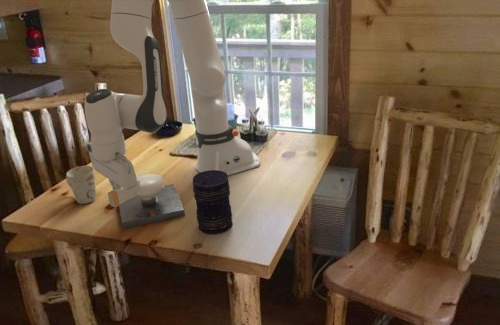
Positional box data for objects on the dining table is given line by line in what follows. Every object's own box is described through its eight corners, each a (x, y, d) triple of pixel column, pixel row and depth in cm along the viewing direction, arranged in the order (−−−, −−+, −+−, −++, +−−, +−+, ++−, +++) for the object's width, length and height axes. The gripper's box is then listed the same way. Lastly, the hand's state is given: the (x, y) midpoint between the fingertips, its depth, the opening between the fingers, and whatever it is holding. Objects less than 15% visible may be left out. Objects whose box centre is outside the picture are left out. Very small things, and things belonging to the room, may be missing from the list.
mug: (85, 208, 155) (78, 179, 151) (58, 199, 161) (51, 171, 157) (105, 196, 161) (99, 168, 157) (79, 188, 168) (72, 161, 164)
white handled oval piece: (148, 180, 156) (145, 165, 154) (171, 187, 151) (168, 172, 149) (102, 205, 143) (98, 189, 141) (125, 214, 138) (122, 198, 136)
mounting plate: (174, 189, 163) (172, 173, 160) (185, 215, 147) (182, 198, 144) (118, 200, 158) (114, 184, 156) (123, 228, 142) (119, 211, 140)
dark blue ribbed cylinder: (211, 213, 147) (205, 167, 141) (239, 220, 142) (235, 173, 136) (191, 230, 139) (184, 182, 133) (220, 238, 135) (215, 189, 128)
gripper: (138, 155, 133) (146, 200, 139) (103, 136, 147) (111, 178, 153) (117, 162, 129) (126, 208, 135) (82, 142, 143) (92, 185, 149)
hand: (118, 192), depth 144 cm, fingers closed
